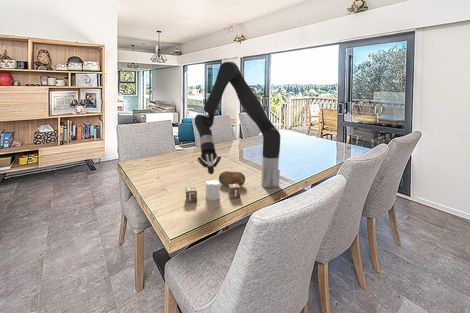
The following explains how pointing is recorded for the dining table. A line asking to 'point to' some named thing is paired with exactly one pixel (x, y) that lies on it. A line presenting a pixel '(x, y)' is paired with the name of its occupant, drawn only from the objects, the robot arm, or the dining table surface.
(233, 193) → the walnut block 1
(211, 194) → the plain block
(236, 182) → the tin
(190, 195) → the walnut block
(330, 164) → the dining table surface
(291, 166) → the dining table surface
